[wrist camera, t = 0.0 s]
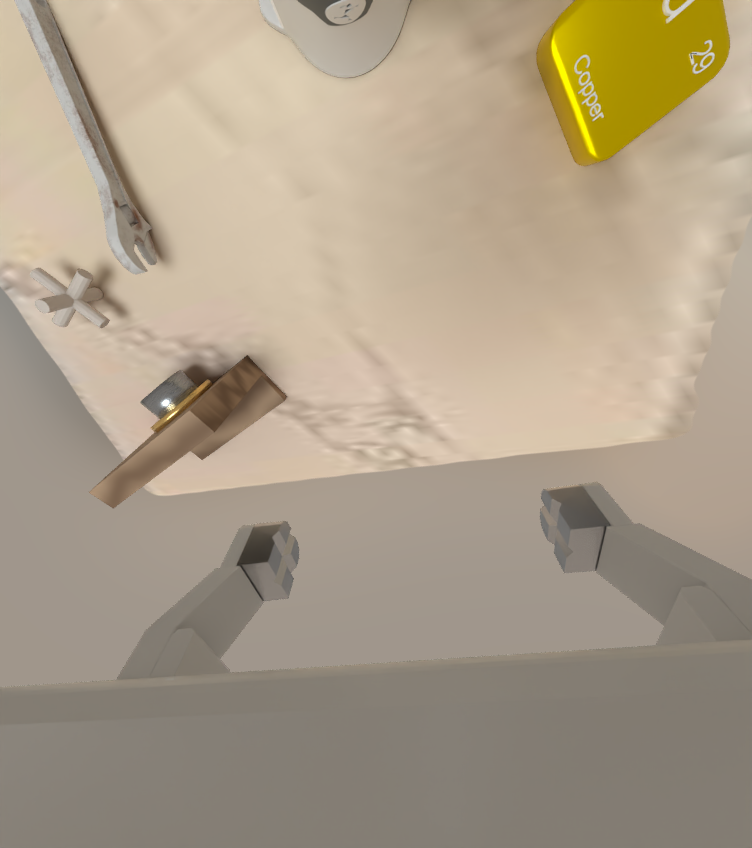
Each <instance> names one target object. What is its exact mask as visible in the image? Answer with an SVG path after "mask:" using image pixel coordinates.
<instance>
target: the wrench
mask: <svg viewBox="0 0 752 848" xmlns="http://www.w3.org/2000/svg"><path fill="white" fill-rule="evenodd" d="M15 3H16V5H17V7H18V9H19V12H20V14H21V16H22V18H23V21H24V23H25V25H26V27H27V30H28V32H29V34H30V36H31V39H32V41H33V43H34V45H35V48H36V50H37V52H38V54H39V57H40V59H41V61H42V63H43V66H44V68H45V70H46V72H47V75H48V77H49V79H50V81H51V84H52V86H53V88H54V90H55V93H56V95H57V97H58V99H59V102H60V104H61V106H62V108H63V111H64V113H65V115H66V117H67V120H68V122H69V124H70V126H71V128H72V131H73V133H74V135H75V137H76V140H77V142H78V144H79V146H80V149H81V151H82V153H83V155H84V158H85V160H86V162H87V164H88V167H89V169H90V171H91V173H92V176H93V178H94V180H95V182H96V185H97V187H98V191H99V196H100V200H101V204H102V208H103V212H104V219H105V226H106V234H107V240H108V243H109V246H110V248H111V250H112V252H113V253H114V255H115V257H116V258H117V259H118V261H119V262H120V263H121V264H122V265H123V266H124V267H125V268H126V269H127V270H128V271H130V272H131V273H133V274H140V273H144V272H147V269H146V268H145V266H144V265H143V263H142V262H141V261H140V259H139V258H138V256H137V255H136V253H135V252H134V244H136V245H137V247H138V249H139V251H140V252H141V254H142V256H143V257H144V259H145V260H146V261H147V263H148V264H150V265H155V264H156V263H157V259H156V253H155V249H154V245H153V242H152V240H151V237H150V235H149V232H148V231H149V230H150V229H152V227H151V226H150V225H149V224H148V223H147V222H146V221H145V220H144V219H143V218H142V216H141V215H140V213H139V212H138V210H137V209H136V208H135V206H134V205H133V203H132V202H131V200H130V198H129V197H128V195H127V193H126V191H125V190H124V188H123V186H122V183H121V181H120V179H119V176H118V174H117V171H116V169H115V167H114V164H113V162H112V160H111V157H110V155H109V152H108V150H107V147H106V145H105V142H104V140H103V138H102V135H101V133H100V130H99V128H98V125H97V123H96V120H95V118H94V115H93V113H92V111H91V108H90V106H89V103H88V101H87V98H86V96H85V93H84V91H83V89H82V86H81V84H80V81H79V79H78V76H77V74H76V72H75V69H74V67H73V64H72V62H71V59H70V57H69V55H68V52H67V50H66V47H65V45H64V42H63V40H62V37H61V35H60V32H59V30H58V27H57V25H56V22H55V20H54V17H53V15H52V13H51V10H50V8H49V5H48V3H47V1H46V0H15Z"/></svg>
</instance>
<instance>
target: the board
mask: <svg viewBox="0 0 752 848" xmlns="http://www.w3.org/2000/svg"><path fill="white" fill-rule="evenodd" d="M285 399H286V396H285V395H284V394H283V392H282V391H281V390H280V389H279V388H278V387H277V386H276V385H275V384H274V383H273V382H272V381H271V380H270V379H269V378H268V377H267V376H266V375H265V374H264V373H263V372H262V371H261V370H260V368H259V367H258V366H257V365H256V364H255V363H254V362H253V361H252V360H251V359H250V358H249V357H248V356H246V357H245V358H243V359H242V360H241V361H240V362H239V363H237V364H236V365H235V366H234V367H232V368H231V369H230V370H229V371H228V372H226V373H225V374H224V375H223V376H222V377H220V378H219V379H218V380H217V381H216V382H214V383H213V385H212V386H211V387H210V388H209V389H208V390H207V391H206V392H205V393H204V394H203V395H201V396H200V397H199V398H198V399H197V400H196V401H195V402H194V403H192V404H191V405H190V406H189V407H188V408H187V409H186V410H184V411H183V412H182V413H181V414H180V415H179V416H177V417H176V418H175V419H174V420H173V421H171V422H170V423H169V424H168V425H167V426H165V427H164V428H163V429H162V430H160V431H159V432H158V433H156V432H155V433H154V434H153V435H151V436H150V437H149V438H148V439H147V440H146V441H145V442H144V443H143V444H142V445H140V446H139V447H138V448H137V449H136V450H135V451H134V452H133V453H132V454H131V455H129V456H128V457H127V458H126V459H125V460H124V461H123V462H122V463H121V464H119V465H118V466H117V467H116V468H115V469H114V470H113V471H112V472H111V473H110V474H108V475H107V476H106V477H105V478H104V479H103V480H102V481H101V482H100V483H99V484H97V486H95V487H94V488H93V489H92V490H91V491H90V492H89V493H90V494H92V495H94V496H95V497H97V498H98V499H100V500H101V501H103V502H104V503H106V504H107V505H109V506H110V507H112V508H114V507H116V506H117V505H118V504H120V503H121V502H122V501H124V500H125V499H126V498H128V497H129V496H130V495H132V494H133V493H134V492H136V491H137V490H138V489H140V488H141V487H143V486H144V485H145V484H147V483H148V482H149V481H151V480H152V479H153V478H155V477H156V476H157V475H159V474H160V473H161V472H163V471H164V470H165V469H167V468H168V467H169V466H171V465H172V464H173V463H175V462H176V461H177V460H179V459H180V458H181V457H183V456H184V455H185V454H187V453H188V452H189V451H192V452H193V453H194V454H195V455H196V456H198V457H199V458H200V459H201V460H203V459H204V458H206V457H207V456H208V455H210V454H211V453H213V452H214V451H215V450H217V449H218V448H220V447H221V446H222V445H224V444H225V443H226V442H228V441H229V440H231V439H232V438H233V437H235V436H236V435H238V434H239V433H240V432H242V431H243V430H245V429H246V428H247V427H249V426H250V425H251V424H253V423H254V422H256V421H257V420H258V419H260V418H261V417H263V416H264V415H265V414H267V413H268V412H269V411H271V410H272V409H274V408H275V407H276V406H278V405H279V404H281V403H282V402H283V401H285Z"/></svg>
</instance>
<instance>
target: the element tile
mask: <svg viewBox="0 0 752 848" xmlns="http://www.w3.org/2000/svg"><path fill="white" fill-rule="evenodd" d="M729 48H730V38H729V33H728V27H727V22H726V16H725V10H724V5H723V0H575V1H574V2H573V3H572V4H571V5H570V6H569V7H568V8H567V9H566V10H565V11H564V12H562V14H561V15H560V16H559V17H558V18H557V20H556V21H555V22H554V23H553V24H552V26H551V27H550V28H549V29H548V30H547V32H546V33H545V34H544V35H543V37H542V39H541V41H540V43H539V45H538V49H537V53H536V54H537V65H538V69H539V72H540V74H541V77H542V80H543V82H544V85H545V87H546V90H547V92H548V95H549V98H550V100H551V103H552V105H553V108H554V110H555V113H556V116H557V118H558V121H559V123H560V126H561V129H562V131H563V134H564V136H565V139H566V141H567V144H568V147H569V149H570V152H571V154H572V157H573V159H574V160H575V162H576V163H577V164H579V165H581V166H587V165H591V164H594V163H597V162H601V161H604V160H607V159H609V158H610V157H612V156H613V155H614V154H616V153H617V152H618V151H620V150H621V149H622V148H623V147H625V146H626V145H627V144H629V143H630V142H631V141H633V140H634V139H635V138H636V137H638V136H639V135H640V134H642V133H643V132H644V131H645V130H647V129H648V128H649V127H651V126H652V125H653V124H655V123H656V122H657V121H658V120H660V119H661V118H662V117H664V116H665V115H666V114H667V113H669V112H670V111H671V110H673V109H674V108H675V107H677V106H678V105H679V104H680V103H682V102H683V101H684V100H686V99H687V98H688V97H689V96H691V95H692V94H693V93H695V92H696V91H697V90H699V89H700V88H701V87H702V86H704V85H705V84H706V83H708V82H709V81H710V80H711V79H713V78H714V77H715V76H716V75H717V73H718V72H719V71H720V70H721V68H722V67H723V66H724V64H725V62H726V60H727V57H728V54H729Z"/></svg>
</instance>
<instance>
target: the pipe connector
mask: <svg viewBox="0 0 752 848" xmlns="http://www.w3.org/2000/svg"><path fill="white" fill-rule="evenodd" d="M30 276H31V277H32V278H33V279H35V280H36V281H37V282H39V283H40V284H41V285H43V286H44V287H45V288H47V289H48V290H50V291H51V292H52V293H54V294H55V295H56V296H52V297H47V298H43V299H38V300H36V301H35V306H36V308H37V309H38V310H39V311H40V312H42V313H50V312H54V311H56V313H55V315H54V317H53V319H52V322H53V323H54V324H56V325H58V326H60V327H66V326H68V324H69V322H70V320H71V318H72V316H73V315H74V313H75V311H76V310H77V311H78V312H79V313H81V314H82V315H83V316H85V317H86V318H87V319H89V320H90V321H91V322H93V323H94V324H95V325H97V326H98V327H100V328H103V327H105V326H106V325H107V324H108V323H109V321H110V320H109V319H108V318H106V317H105V316H104V315H102V314H101V313H100V312H98V311H97V310H96V309H94V308H93V307H92V306H90V305H89V304H88V303H87V302H91V301H95V300H99V299H102V298H103V293H102V291H101V290H100V289H99V288H96V287H93V288H88V287H89V285H90V283H91V281H92V279H93V276H92V275H91V274H90V273H89V272H87V271H85V270H83V269H78V270H77V272H76V274H75V275H74V277H73V279H72V281H71V283H70V285H69V287H68V288H67V287H65V286H64V285H63V284H61V283H60V282H59V281H57V280H56V279H55V278H53V277H52V276H51V275H49V274H48V273H47V272H45V271H44V270H43V269H41V268H36V269H34V270H33V271H32V272H31V273H30Z"/></svg>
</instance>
